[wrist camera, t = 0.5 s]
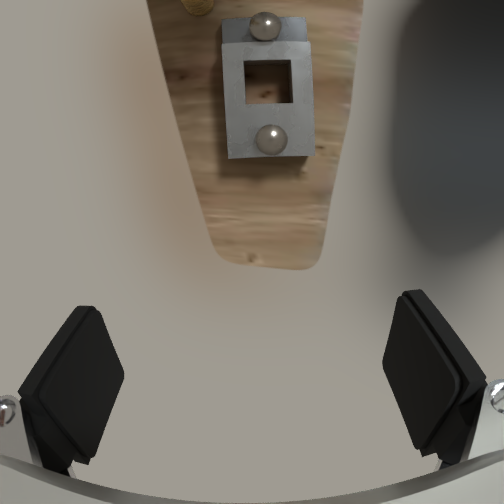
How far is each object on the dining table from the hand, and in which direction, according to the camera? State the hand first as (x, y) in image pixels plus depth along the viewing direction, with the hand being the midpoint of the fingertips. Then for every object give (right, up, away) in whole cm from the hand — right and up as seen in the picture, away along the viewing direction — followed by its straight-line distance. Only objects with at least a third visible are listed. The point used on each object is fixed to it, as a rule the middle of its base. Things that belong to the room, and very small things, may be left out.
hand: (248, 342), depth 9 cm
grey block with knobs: (+2, +21, +21) cm, 30 cm away
